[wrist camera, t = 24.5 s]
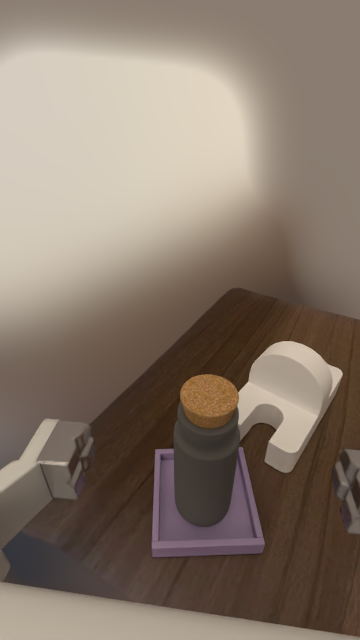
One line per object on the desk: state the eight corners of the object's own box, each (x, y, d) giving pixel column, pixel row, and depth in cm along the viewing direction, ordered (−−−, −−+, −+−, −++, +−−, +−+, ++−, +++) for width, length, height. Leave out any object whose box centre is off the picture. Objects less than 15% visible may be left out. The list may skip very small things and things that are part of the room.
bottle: (205, 462, 37) (212, 360, 29) (242, 503, 33) (262, 399, 25) (163, 492, 34) (158, 387, 26) (198, 541, 30) (204, 435, 22)
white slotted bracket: (338, 389, 48) (358, 333, 43) (288, 476, 36) (307, 414, 31) (278, 363, 53) (289, 310, 48) (217, 432, 41) (223, 371, 36)
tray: (262, 553, 30) (265, 544, 29) (152, 557, 29) (151, 548, 29) (241, 456, 38) (242, 446, 38) (155, 458, 38) (155, 449, 37)
